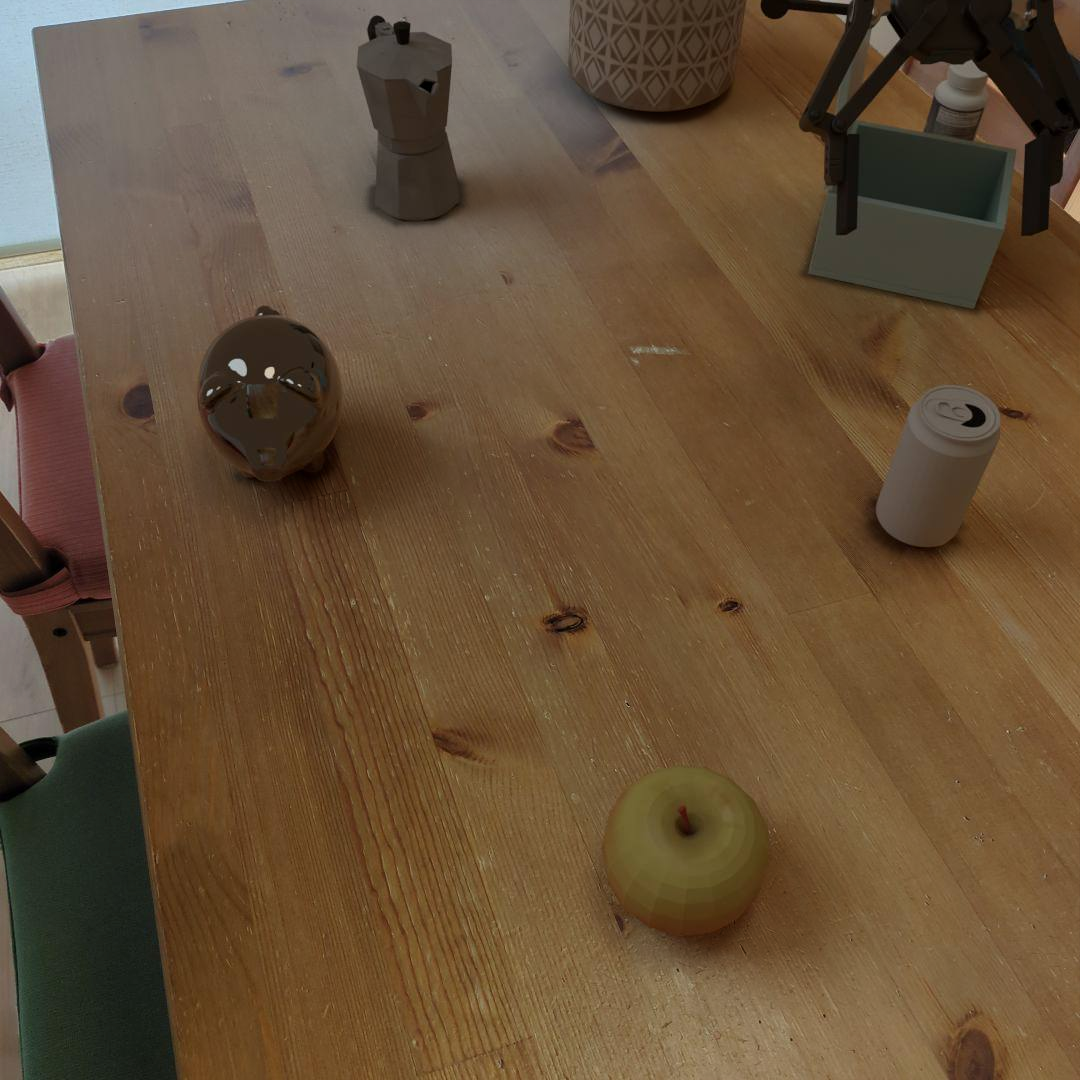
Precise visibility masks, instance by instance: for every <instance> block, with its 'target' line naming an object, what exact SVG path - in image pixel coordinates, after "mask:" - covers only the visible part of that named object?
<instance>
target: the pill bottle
mask: <svg viewBox="0 0 1080 1080" xmlns="http://www.w3.org/2000/svg"><path fill="white" fill-rule="evenodd" d="M988 79H989V76H988V75H987V74H986V73H985V72H982V71H980V70H979V69H978V68H977V66H976V65H975V64H974V62H973V61H972V60H970V61H967V62H966V63H964V64H963V65H952V64H949V66H948V69H947V72H946V79H944V80H942V81H941V82H939V84H938V85H937V86H936V88H935V91H934V94H933V98H932V102H931V105H930V108H929V110H928V111H929V112H928V115H927V118H926V122H925V124H924V127H923V131H922V132H925V133H930V134H936V135H941V136H947V137H952V138H958V139H963V140H968V141H974V142H976V141H975V140H976V137H977V135H978V132H979V128H980V125H981V122H982V119H983V117H984V113H985V110H986V108H987V104H988V101H989V92H988V89H987V88H986V85H987V83H988V81H989V80H988Z"/></svg>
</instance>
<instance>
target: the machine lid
mask: <svg viewBox="0 0 1080 1080" xmlns="http://www.w3.org/2000/svg"><path fill="white" fill-rule="evenodd" d="M849 4H850V3H844V2H843V3H842V2H833V1H832V2H831V1H824V0H823V1H822V0H760V10H761V12H762V14H763V15H764V16H765V18H767V19H770V20H779V19H781V18H783V17H784V16H786V14H787V13H788V11H799V12H808V13H819V14H828V15H838V16H847V10H848V5H849ZM872 31H873V28H872V29H868V31H867V33H866V35H865V37H864V39H863V41H862V43H861V45H860V47H859V49H858V51H857V53H856V55H855V57H854V59H853V61H852V63H851V65H850V67H849V69H848V71H847V73H846V75H845V77H844V79H843V81H842V83H841V84H840V86H839V88H838V94H837V101H836V107H835V114H834V115H837V113H838V112H839V111H840V110H841V109H842V107H843V106H844V105H845V104H846V103H847V102H848V100H849V99H850V98H851V97H852V96H853V94H854V93H855V92H856V91H857V90H858V89H859V87H860V86H861V85H862V84H863V83H864V77H865V71H866V65H867V59H868V53H869V47H870V42H871V37H872V36H871V35H872ZM854 122H855V121H854ZM853 125H854V123H853V124H852V125H851V126H850V127H849V128H848V130H847V135H848V134H851V131H852V128H853ZM823 184H824V185H823V189H824V190H827V191H828V190H832V189H833V186H826V183H825V181H824V183H823Z"/></svg>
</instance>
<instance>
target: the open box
mask: <svg viewBox="0 0 1080 1080" xmlns="http://www.w3.org/2000/svg"><path fill="white" fill-rule="evenodd" d="M851 134H860V140H859V174H858V208H857V229H856V230H854V231H852V232H851V233H849V234H847V235H836V206H837V186H833V189H832V190H828V189H827V192H826V197H825V200H824V204H823V209H822V213H821V217H820V222H819V226H818V231H817V234H816V239H815V242H814V247H813V251H812V254H811V260H810V263H809V267H808V272H807V273H808V275H812V276H817V277H820V278H821V277H822V278H827V279H831V280H835V281H840V282H845V283H850V284H854V285H858V286H862V287H866V288H867V287H868V288H873V289H877V290H882V291H887V292H891V293H894V294H895V293H896V294H900V295H904V296H909V297H914V298H919V299H924V300H928V301H933V302H938V303H943V304H946V305H952V306H957V307H961V308H966V309H971V310H974V309H975V307H976V305H977V302H978V300H979V297H980V294H981V292H982V289H983V287H984V284H985V282H986V279H987V277H988V274H989V272H990V269H991V266H992V264H993V261H994V259H995V256H996V253H997V252H998V248H999V245H1000V243H1001V241H1002V238H1003V236H1004V233H1005V230H1006V224H1007V218H1008V212H1009V211H1008V210H1009V206H1010V205H1009V204H1010V196H1011V190H1012V185H1013V176H1014V171H1015V170H1014V169H1015V163H1016V157H1017V149H1016V148H1011V147H1005V146H1000V145H995V144H990V143H984V142H978V141H968V140H963V139H958V138H952V137H947V136H941V135H936V134H930V133H925V132H923V131H919V130H913V129H909V128H908V129H907V128H902V127H898V126H893V125H887V124H881V123H875V122H870V121H864V120H859V119H856V120H855V122H854V125H853V128H852V131H851Z"/></svg>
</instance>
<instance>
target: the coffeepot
mask: <svg viewBox="0 0 1080 1080" xmlns="http://www.w3.org/2000/svg"><path fill="white" fill-rule="evenodd" d="M366 32H367V38H368V41H366V42H365V43H363V44H361V45H359V46H357V56H356V57H357V58H356V70H357V72H358V76H359V80H360V84H361V86H362V90H363V93H364V97H365V101H366V105H367V108H368V111H369V115H370V119H371V122H372V123H371V124H372V126H373V129H374V130H376V131H377V145H376V167H375V168H376V171H375V189H374V190H375V192H374V206H375V207H377V208H378V209H379V210H380V211H381V212H383V213H385V214H386V215H388V216H390V217H391V218H394V219H395V218H396V219H397V220H398V219H399V220H404V221H410V222H411V221H415V222H416V221H417V222H418V221H419V222H420V221H427V220H432V219H436V218H438V217H441V216H443V215H445V214H448V212H450V211H451V210H453V209H454V208H455V206H456V205H457V204H459V203H460V182H459V178H458V173H457V170H456V165H455V161H454V156H453V153H452V150H451V145H450V142H449V137H448V132H447V131H446V127H447V126H448V116H449V106H450V105H449V104H450V91H451V82H452V68H453V50H452V49H453V48H452V43H450V42H447V41H445V40H443V39H441V38H438V37H437V36H434V35H432V34H429V33H427V32H426V31H411V22H409V21H407V20H399V21H396V22H394V23H393V25H392V24H391V23H390V22H389V21H387V20H386V19H385V18H384V17H383V16H381V15H378V14H377V15H373V16H372V17H370V20H369V21H368V25H367V27H366Z"/></svg>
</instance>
